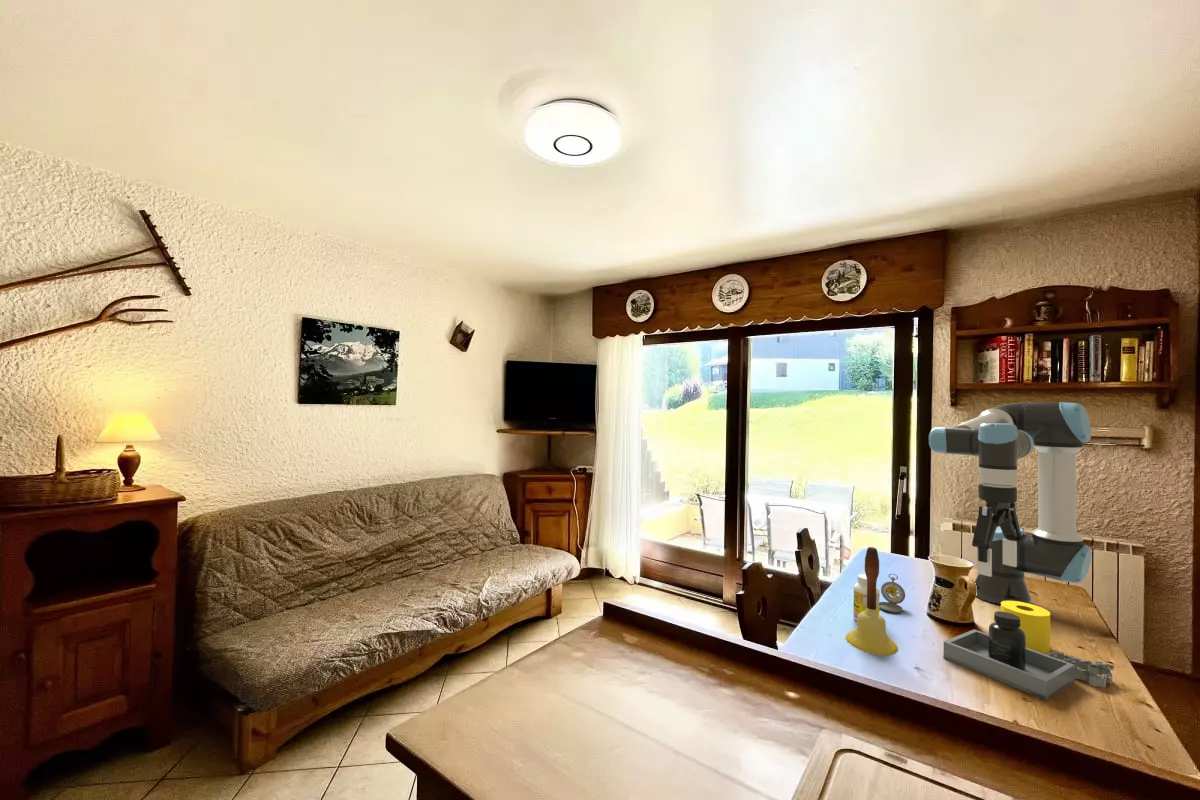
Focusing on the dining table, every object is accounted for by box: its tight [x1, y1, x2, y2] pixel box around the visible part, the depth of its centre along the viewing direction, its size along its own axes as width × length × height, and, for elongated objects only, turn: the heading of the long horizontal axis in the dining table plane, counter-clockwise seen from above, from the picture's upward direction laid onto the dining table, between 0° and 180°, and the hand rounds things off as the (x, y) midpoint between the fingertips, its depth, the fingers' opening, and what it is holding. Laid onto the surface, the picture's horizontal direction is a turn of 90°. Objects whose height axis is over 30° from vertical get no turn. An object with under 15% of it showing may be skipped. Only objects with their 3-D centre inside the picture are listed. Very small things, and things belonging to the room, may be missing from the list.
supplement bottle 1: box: [852, 573, 881, 622], centre depth 143 cm, size 7×7×13 cm
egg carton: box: [1046, 650, 1115, 688], centre depth 116 cm, size 11×8×4 cm
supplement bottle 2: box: [988, 610, 1026, 671], centre depth 118 cm, size 7×7×12 cm
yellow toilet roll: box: [1000, 601, 1051, 654], centre depth 131 cm, size 10×10×9 cm
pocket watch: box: [879, 573, 906, 614], centre depth 153 cm, size 8×8×10 cm
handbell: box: [844, 546, 899, 656], centre depth 130 cm, size 12×12×25 cm
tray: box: [942, 628, 1076, 701], centre depth 118 cm, size 15×20×4 cm
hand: (997, 570), depth 123 cm, fingers open, 13 cm apart
